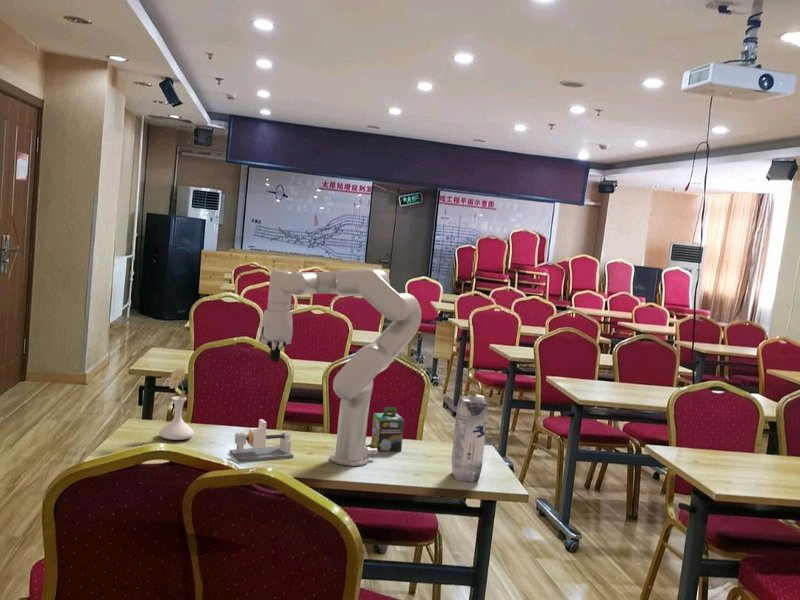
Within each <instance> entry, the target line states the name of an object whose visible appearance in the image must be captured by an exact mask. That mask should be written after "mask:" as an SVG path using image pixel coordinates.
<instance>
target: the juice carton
mask: <svg viewBox="0 0 800 600" xmlns="http://www.w3.org/2000/svg"><path fill="white" fill-rule="evenodd" d="M488 412H489V411H488V403H487V402H486V401H485V396H483V395H481V394H476V395H475V396H472V395H470V396H469V395H459V398H458V403H457V406H456V414H455V425H454V431H453V432H454V433H453V441H452V443H453V445H452V452H451V453H452V454H451V471H452V474H453V475H454V478H455V480H456V481H458V482H459V481H461V482H474V483H475V482H476V483H477V482H479V480H480V477H481V473H482V467H483V461H484V460H483V458H484V450H485V444H486V443H485V440H486V432H487V423H488Z"/></svg>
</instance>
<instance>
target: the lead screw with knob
mask: <svg viewBox="0 0 800 600" xmlns="http://www.w3.org/2000/svg"><path fill="white" fill-rule="evenodd" d="M246 435H247V437H246V443H247V444H248V443H252V440H253V436H252V434H251V433H250V434H249V433H247V434H246ZM284 436H285V434H282V433H281V434H266V440H271V439H280V438H284Z"/></svg>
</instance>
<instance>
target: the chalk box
mask: <svg viewBox="0 0 800 600" xmlns="http://www.w3.org/2000/svg"><path fill="white" fill-rule="evenodd" d="M383 409H384V410H383V412H380V413H379V412H374V413H373V414H372V415H373V417H372V429H371V439H370V441H371V442H370V443H371V445H372V447H373V448H377V450H378V452H385V451H386V452H402V447H403V439H404V438H403V437H404V427H405V419H404V418H403V417H402V416H400V414H398V413H397V407H384V408H383ZM388 411H392V412H388Z"/></svg>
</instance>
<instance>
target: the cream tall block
mask: <svg viewBox="0 0 800 600" xmlns="http://www.w3.org/2000/svg"><path fill="white" fill-rule="evenodd" d="M267 423H268V422H267V421H265V419H263V418H261V419H259V420H258V427H251V428H248V434H250V433H251V434H252V436H253V440H252V443H248V442H247V444H248V445H249V446H251V448H262V447H266V445H267V439H266V435H267V433H268V432H267Z"/></svg>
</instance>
